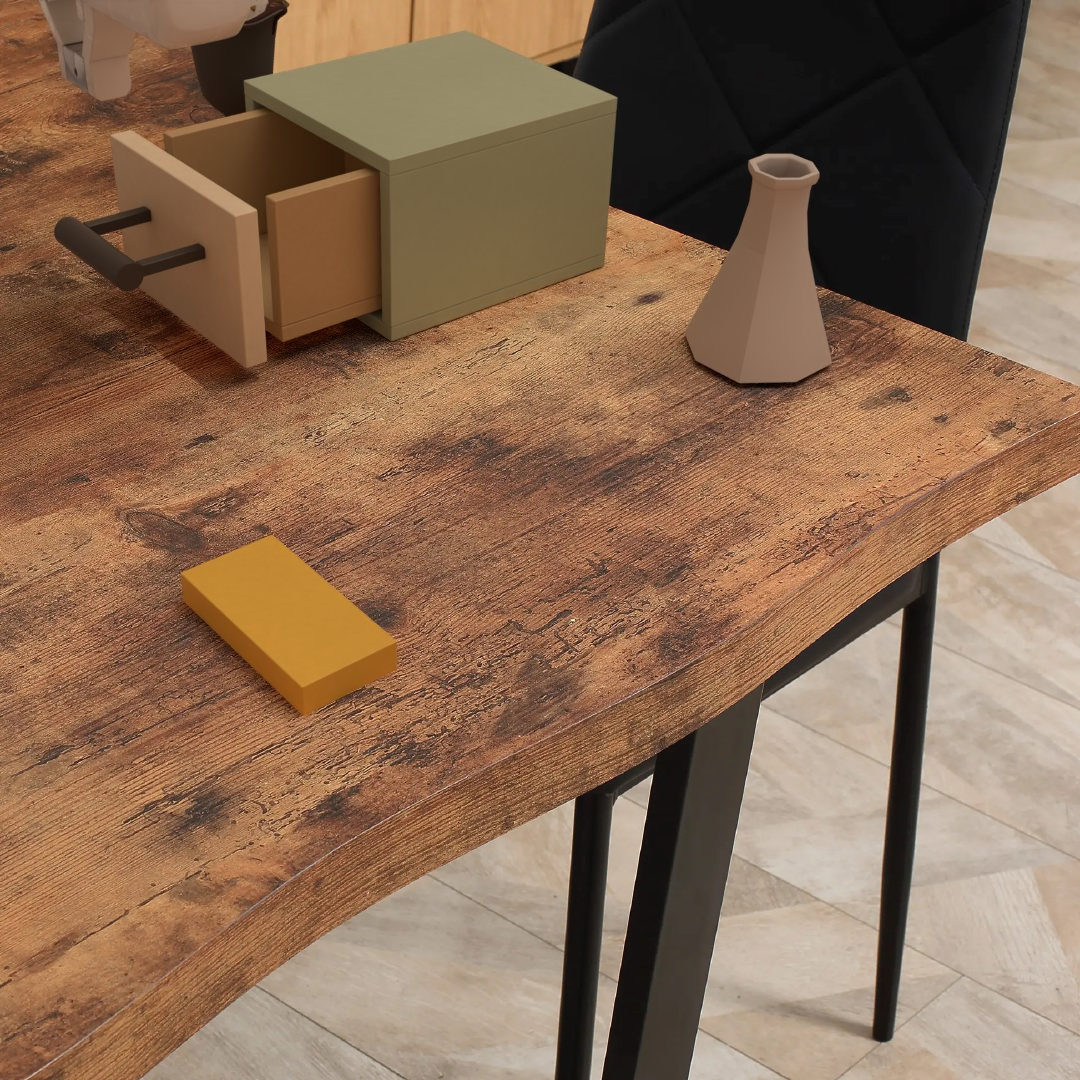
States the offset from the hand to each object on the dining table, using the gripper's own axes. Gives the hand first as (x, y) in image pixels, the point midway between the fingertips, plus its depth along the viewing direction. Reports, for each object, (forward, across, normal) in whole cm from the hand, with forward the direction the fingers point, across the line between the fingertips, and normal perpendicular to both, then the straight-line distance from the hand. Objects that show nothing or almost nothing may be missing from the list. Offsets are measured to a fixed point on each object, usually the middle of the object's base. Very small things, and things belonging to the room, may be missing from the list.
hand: (97, 88), depth 66 cm
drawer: (+13, -1, +8) cm, 15 cm away
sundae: (+14, -17, +17) cm, 28 cm away
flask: (+14, +17, +26) cm, 34 cm away
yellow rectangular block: (+14, +23, -6) cm, 27 cm away
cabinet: (+14, -1, +19) cm, 23 cm away
